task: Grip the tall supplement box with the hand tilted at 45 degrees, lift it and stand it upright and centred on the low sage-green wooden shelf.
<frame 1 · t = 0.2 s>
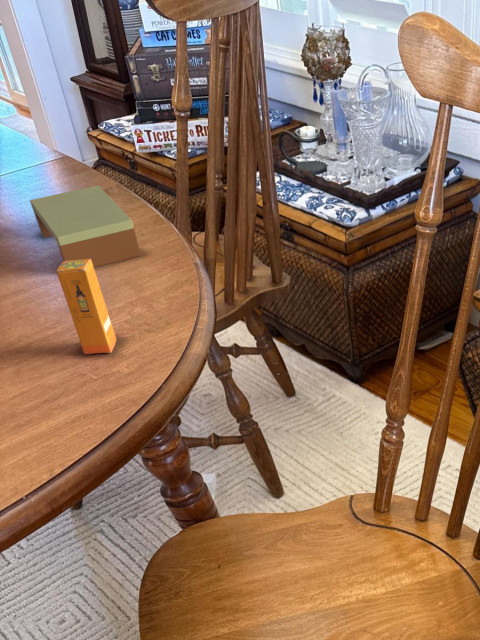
supplement box: (101, 348, 91), on the table
shelf: (89, 244, 112), on the table
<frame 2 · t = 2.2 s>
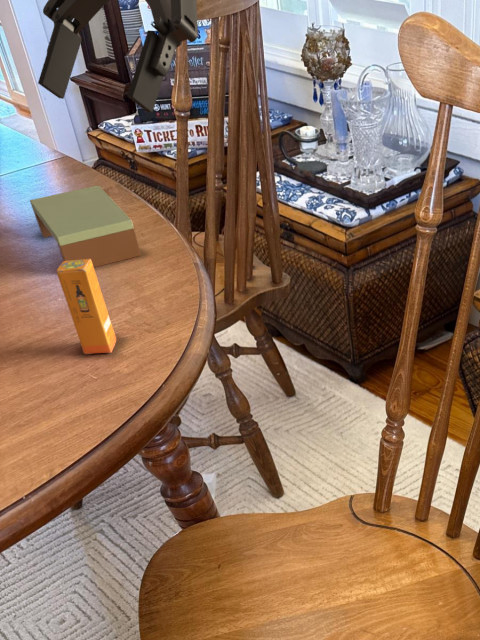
hand: (93, 98, 80), 24 cm above the table, tool tilted 45°, fingers open, 13 cm apart
nothing on the table moved.
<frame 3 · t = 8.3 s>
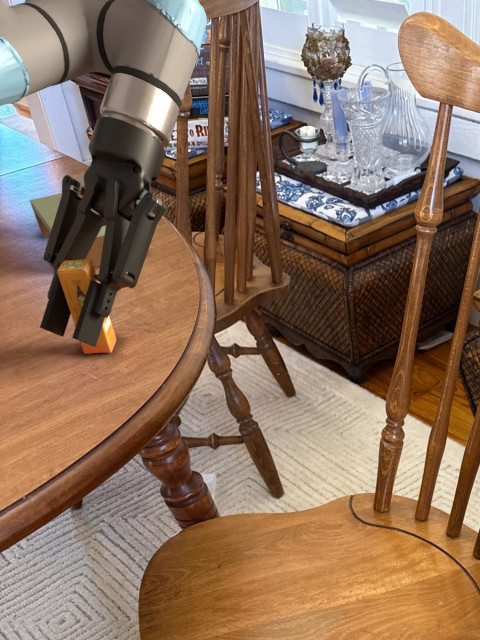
hand: (67, 336, 86), 3 cm above the table, tool tilted 45°, fingers closed on supplement box, 4 cm apart
supplement box: (101, 348, 91), on the table, touching gripper
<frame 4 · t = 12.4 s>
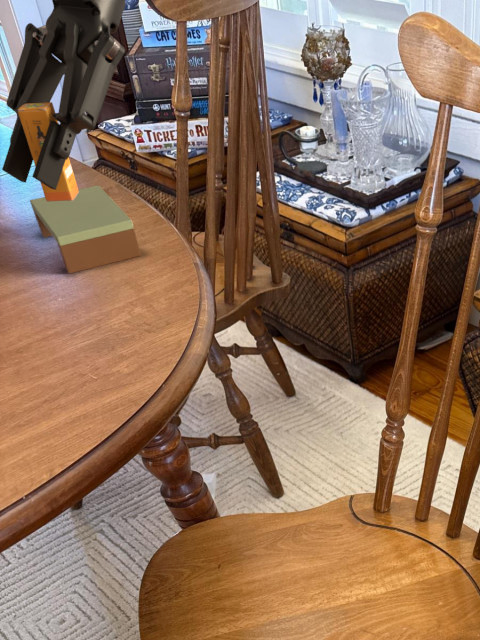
hand: (29, 179, 89), 15 cm above the table, tool tilted 45°, fingers closed on supplement box, 4 cm apart
supplement box: (63, 198, 94), point 12 cm above the table, touching gripper
when the fingers open (8 cm above the table, at t = 16.5 s): supplement box stays where it is, resting on shelf.
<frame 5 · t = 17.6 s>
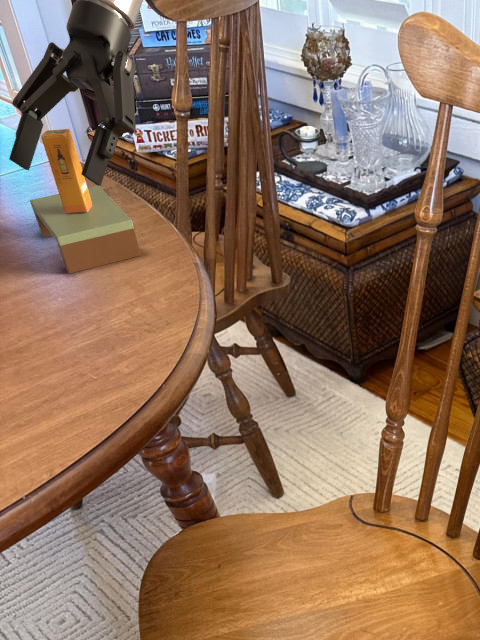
hand: (54, 172, 104), 11 cm above the table, tool tilted 45°, fingers open, 13 cm apart
supplement box: (79, 210, 109), point 5 cm above the table, touching shelf
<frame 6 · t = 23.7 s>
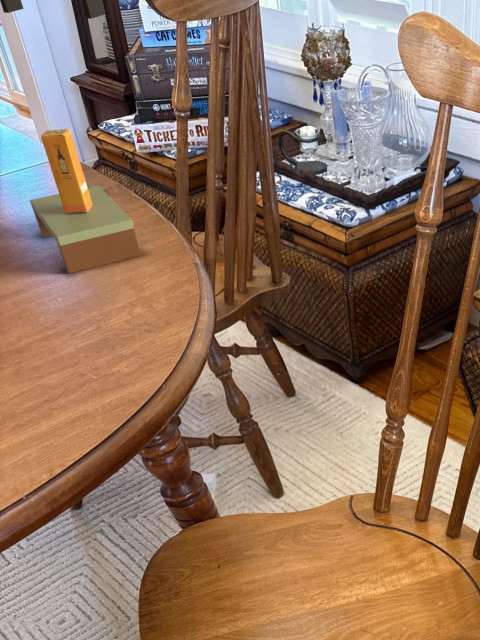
hand: (54, 13, 99), 27 cm above the table, tool pointing down, fingers open, 13 cm apart
nothing on the table moved.
at the end: supplement box inside the target area on the shelf (0.1 cm from its centre), point 4.8 cm above the shelf's base; supplement box tilted 0°; the gripper is holding nothing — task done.
